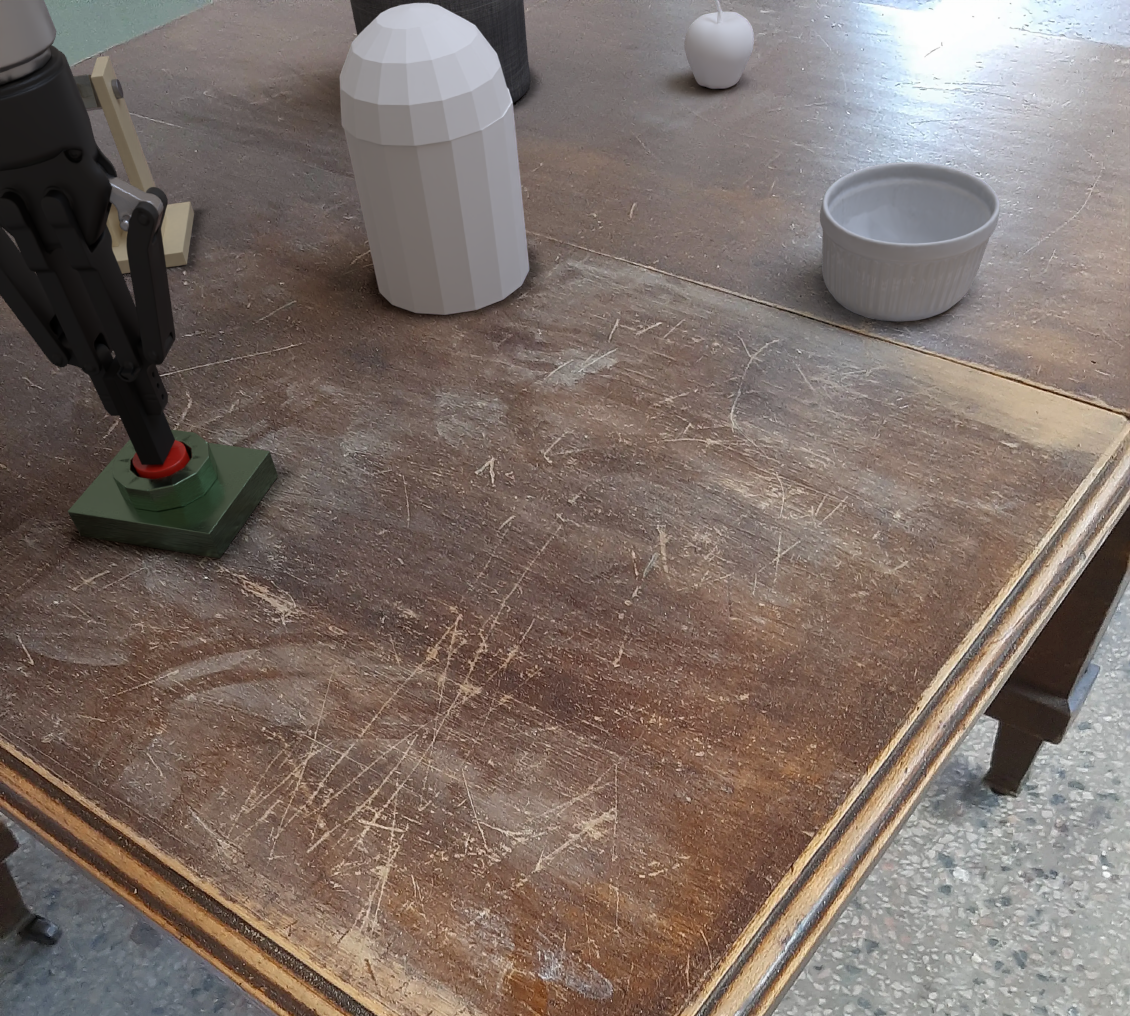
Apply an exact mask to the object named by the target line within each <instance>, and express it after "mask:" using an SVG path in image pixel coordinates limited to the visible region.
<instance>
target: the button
mask: <svg viewBox="0 0 1130 1016" xmlns="http://www.w3.org/2000/svg"><path fill="white" fill-rule="evenodd" d="M189 460H190V458H189V455H188V453H187V450H186V448H185V446H184V445H183V444H182V443H181V442H179V441H177V440H175V441H174V443H173V445H172V447H171V449H170V451H169V453H168V455H167V457H166V460H165V462H164V464H163V465H142V464H141V462H140V460H139V458H138V455H137V453H135V455H134V457H133V465H134V467H135V469H136V471H137V474H138V476H139V477H142V478H148V479H156V478H161V477H166V476H170V475H172V474H173V473H175V472H177V471H179V470H181V469H183V468H184V467H185V466H186V464H187V463H188V462H189Z"/></svg>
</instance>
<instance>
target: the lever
mask: <svg viewBox="0 0 1130 1016" xmlns="http://www.w3.org/2000/svg"><path fill="white" fill-rule="evenodd" d="M91 75H92V74H90V73H85V74H77V75H76V74H75V75H73V76H74V79H75V82H76V84H77V87H78V89H79V92H80V94H81V97H82V100H83V102H84V105H85V107H86V110H87V112H91V111H92V112H93V111H99V110H103V109H102V106H101V104H100V101H99V99H98V96H97V93H96V91H95V88H94V85H93V83H92V80H91Z"/></svg>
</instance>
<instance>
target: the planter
mask: <svg viewBox="0 0 1130 1016" xmlns="http://www.w3.org/2000/svg"><path fill="white" fill-rule="evenodd" d="M524 1H525V0H349V2H350V7H351V11H352V17H353V22H354V28H355V31H356V37H357V36H358V35H359V34H360V33H361V32H362V31H363V30H364V29H365V28H366V27H367V26H368V25H369V24H370V23H371V22H372V21H373V20H374V19H375V18H376V17H377V16H378V15H379V14H380V13H382V12H384V11H386V10H388V9H390V8H393V7H396V6H400V5H405V4H412V3H430V4H436V5H439V6H441V7H443V8H445V9H447V10H449V11H450V12H452V13H454V14H456V15H458V16H460V17H462V18H464V19H465V20H467V21H469V22H471V23H472V24H474V25H475V26H476V27H477V28H478V30H479V31H480V32H481V33H482V35H483V36H484V37H485V39H486V40H487V41H488V43H489V44H490V45H491V47H492V48H493V49H494V50H495V52H496V53H497V55H498V59H499V62H500V65H501V68H502V72H503V75H504V79H505V82H506V86H507V88H508V89H509V92H510V95H511V98H512V102H513V104H514V103H516V102H517V101H519V100H520V99H521V98H522V97H524V95H525V94H526V93H527V92H528V90H529V88H530V86H531V81H532V80H531V71H530V70H531V69H530V63H529V54H528V53H529V51H528V40H527V28H526V16H525V2H524Z"/></svg>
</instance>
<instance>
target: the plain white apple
mask: <svg viewBox="0 0 1130 1016" xmlns="http://www.w3.org/2000/svg"><path fill="white" fill-rule="evenodd" d="M713 2H714V4H715V8H716V10H717V11H714V12H710V13H704V14H702V15H700V16H698V17H697V18H696V19H695V20H693V21H692V22H691V23H690V25H689V26H688V28H687V30H686V33H685V36H684V52H685V56H686V60H687V63H688V65H689V68H690V69H691V73H692V74H693V77H694V79H695V81H696V83H697V84H698V85H699V86H701V87H706V88H708V89H710V90H711V89H712V90H719V89H729V88H731V87H733V86H735V85H736V84H738V83H739V81H740V80H741V78H742V76H743V73H744V71H745V69H746V66H747V65H748V63H749V60H750V59H751V56H752V53H753V50H754V44H755V33H754V28H753V26H752V24H751V23H750V21H749V20H748V19H747V18H746V17H745V16H743V15H742V14H740V13H738V12H736V11H723V9H722V6H721V3H720V2H719V0H713Z"/></svg>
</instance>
